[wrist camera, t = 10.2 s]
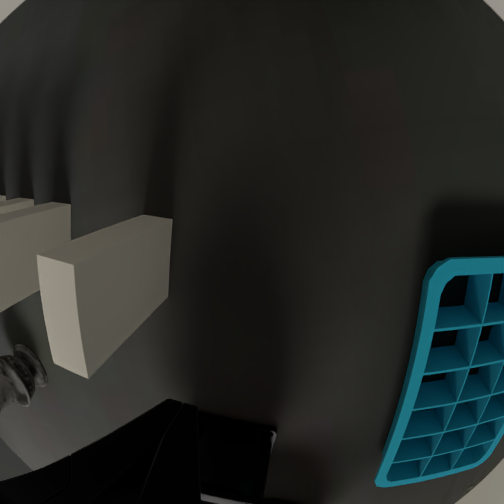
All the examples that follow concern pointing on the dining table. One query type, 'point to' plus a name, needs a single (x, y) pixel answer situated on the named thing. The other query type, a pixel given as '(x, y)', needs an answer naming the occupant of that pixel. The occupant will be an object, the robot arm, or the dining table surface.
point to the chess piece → (20, 377)
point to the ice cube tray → (450, 381)
